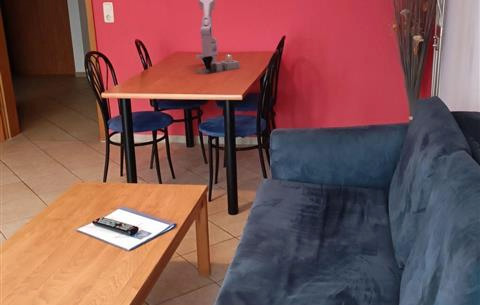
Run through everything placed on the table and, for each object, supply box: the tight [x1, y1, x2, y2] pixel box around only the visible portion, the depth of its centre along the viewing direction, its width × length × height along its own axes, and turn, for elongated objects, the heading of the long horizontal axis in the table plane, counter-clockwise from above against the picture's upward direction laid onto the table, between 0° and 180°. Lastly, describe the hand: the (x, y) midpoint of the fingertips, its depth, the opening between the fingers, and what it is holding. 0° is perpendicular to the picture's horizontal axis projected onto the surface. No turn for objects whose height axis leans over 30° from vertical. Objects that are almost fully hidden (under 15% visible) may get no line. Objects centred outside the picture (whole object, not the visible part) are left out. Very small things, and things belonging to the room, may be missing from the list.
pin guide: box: [212, 61, 223, 71], centre depth 348 cm, size 6×4×4 cm
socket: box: [218, 59, 240, 71], centre depth 353 cm, size 9×9×4 cm
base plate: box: [192, 67, 242, 75], centre depth 351 cm, size 16×26×1 cm, turn 127°
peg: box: [225, 54, 233, 63], centre depth 353 cm, size 4×4×8 cm
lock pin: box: [208, 65, 224, 72], centre depth 348 cm, size 3×11×4 cm, turn 127°
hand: (207, 69), depth 345 cm, fingers closed
